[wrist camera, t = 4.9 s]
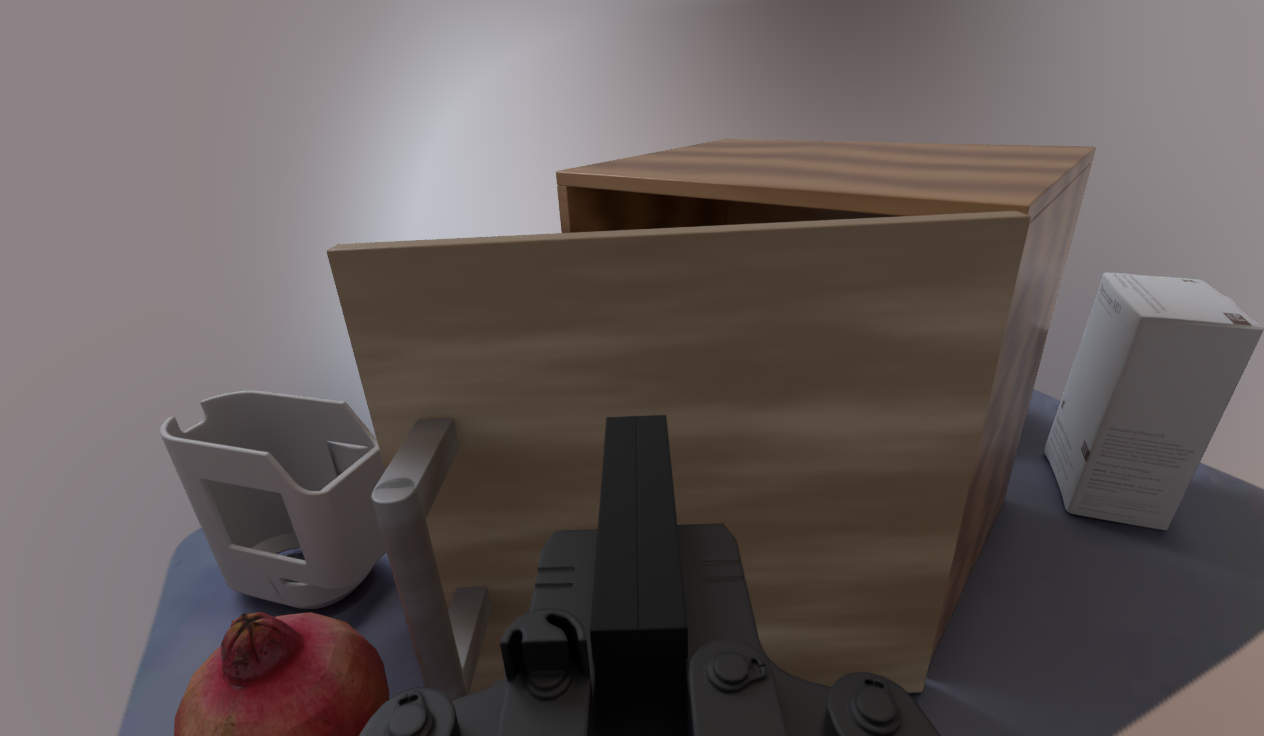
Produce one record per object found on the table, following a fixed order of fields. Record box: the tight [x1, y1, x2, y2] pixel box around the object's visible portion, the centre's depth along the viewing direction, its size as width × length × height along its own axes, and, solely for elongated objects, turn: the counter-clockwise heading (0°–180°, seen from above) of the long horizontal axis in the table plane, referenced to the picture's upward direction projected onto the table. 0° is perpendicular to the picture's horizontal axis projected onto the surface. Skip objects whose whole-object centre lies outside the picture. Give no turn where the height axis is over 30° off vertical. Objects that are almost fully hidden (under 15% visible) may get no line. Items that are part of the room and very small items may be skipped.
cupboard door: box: [327, 211, 1031, 701], centre depth 23 cm, size 6×24×23 cm, turn 90°
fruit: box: [174, 612, 390, 736], centre depth 26 cm, size 8×8×10 cm
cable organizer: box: [160, 391, 387, 609], centre depth 37 cm, size 7×12×12 cm, turn 73°
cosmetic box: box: [1044, 273, 1264, 530], centre depth 40 cm, size 8×6×15 cm
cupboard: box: [556, 139, 1096, 664], centre depth 39 cm, size 18×24×24 cm
